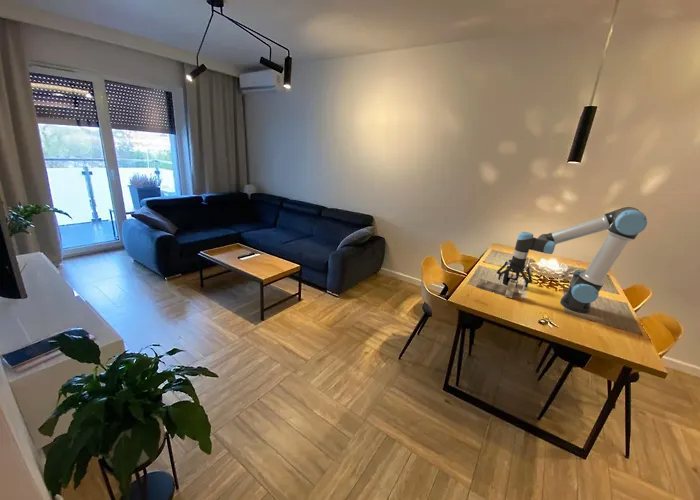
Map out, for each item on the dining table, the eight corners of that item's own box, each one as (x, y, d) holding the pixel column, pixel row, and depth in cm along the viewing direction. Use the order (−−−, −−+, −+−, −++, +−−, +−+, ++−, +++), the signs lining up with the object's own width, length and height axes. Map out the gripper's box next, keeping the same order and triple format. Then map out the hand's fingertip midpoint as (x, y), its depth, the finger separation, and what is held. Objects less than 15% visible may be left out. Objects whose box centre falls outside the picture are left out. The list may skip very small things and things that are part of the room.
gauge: (513, 293, 197) (517, 279, 193) (511, 298, 191) (515, 283, 187) (506, 291, 199) (510, 277, 195) (504, 296, 193) (508, 281, 189)
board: (518, 292, 200) (518, 289, 200) (515, 299, 191) (516, 296, 190) (480, 281, 213) (480, 278, 212) (475, 287, 204) (476, 284, 203)
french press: (510, 280, 218) (518, 250, 210) (521, 286, 210) (529, 255, 202) (497, 281, 214) (505, 251, 206) (507, 288, 206) (516, 256, 198)
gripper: (543, 260, 182) (533, 292, 189) (499, 250, 195) (491, 279, 202) (542, 264, 176) (532, 296, 184) (496, 253, 189) (488, 283, 197)
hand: (510, 287), depth 193 cm, fingers open, 13 cm apart
